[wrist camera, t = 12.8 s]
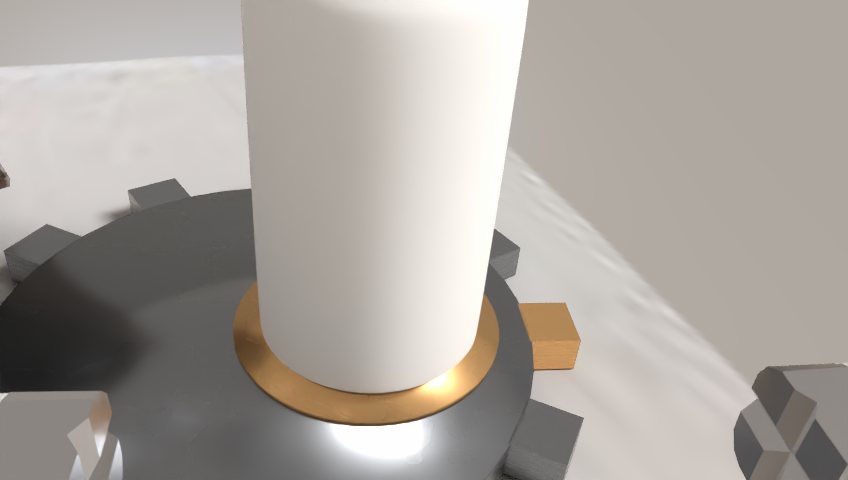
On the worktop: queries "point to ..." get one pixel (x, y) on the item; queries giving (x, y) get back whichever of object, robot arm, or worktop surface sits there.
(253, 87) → the can
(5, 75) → the worktop surface
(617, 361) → the worktop surface
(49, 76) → the worktop surface
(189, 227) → the sprocket plate
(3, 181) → the caster wheel
